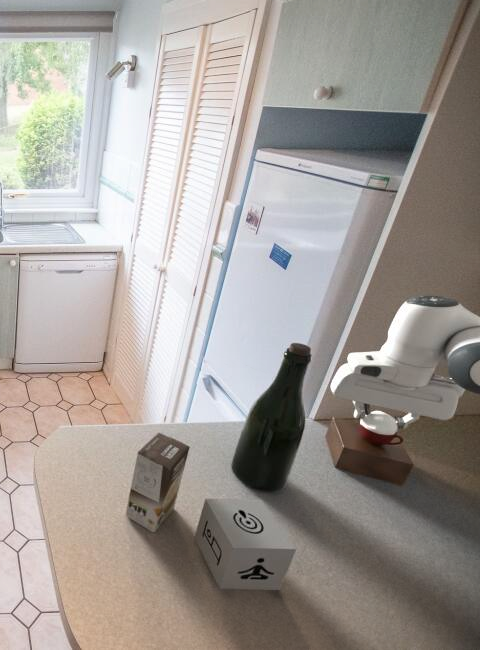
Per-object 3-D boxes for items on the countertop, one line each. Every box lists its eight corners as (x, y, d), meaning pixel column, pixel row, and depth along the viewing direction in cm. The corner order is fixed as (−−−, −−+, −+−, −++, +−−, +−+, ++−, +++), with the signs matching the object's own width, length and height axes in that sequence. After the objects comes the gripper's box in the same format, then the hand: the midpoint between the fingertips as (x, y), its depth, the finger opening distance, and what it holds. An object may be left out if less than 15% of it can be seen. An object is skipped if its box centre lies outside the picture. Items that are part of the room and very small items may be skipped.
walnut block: (386, 451, 108) (396, 431, 105) (402, 486, 98) (414, 464, 95) (324, 436, 113) (332, 416, 110) (334, 467, 103) (343, 447, 100)
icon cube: (194, 537, 86) (205, 498, 82) (247, 539, 86) (261, 500, 82) (219, 588, 77) (233, 547, 73) (279, 590, 77) (296, 549, 73)
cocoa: (403, 451, 99) (425, 406, 94) (376, 453, 98) (398, 408, 93) (364, 424, 107) (383, 381, 102) (340, 425, 107) (357, 382, 102)
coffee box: (155, 534, 87) (170, 470, 80) (124, 515, 91) (136, 453, 84) (175, 507, 93) (190, 446, 86) (145, 490, 97) (158, 430, 90)
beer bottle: (295, 484, 98) (346, 351, 85) (265, 501, 94) (314, 364, 81) (249, 454, 107) (289, 329, 93) (219, 468, 103) (257, 340, 89)
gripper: (462, 373, 93) (434, 427, 99) (340, 351, 102) (321, 402, 108) (476, 389, 88) (446, 444, 94) (346, 364, 97) (326, 417, 102)
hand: (378, 422), depth 101 cm, fingers closed on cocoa, 6 cm apart
